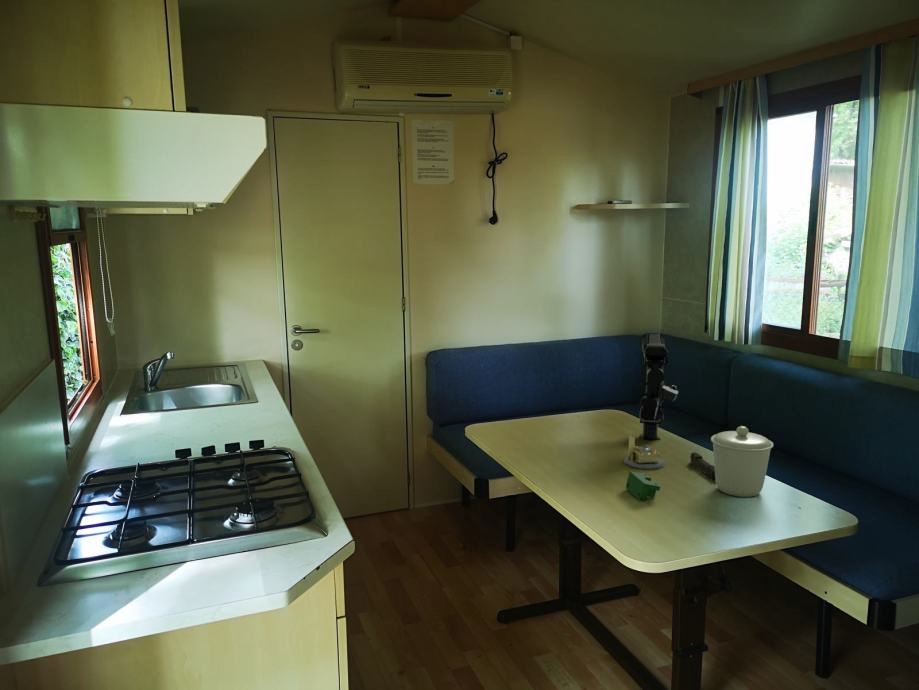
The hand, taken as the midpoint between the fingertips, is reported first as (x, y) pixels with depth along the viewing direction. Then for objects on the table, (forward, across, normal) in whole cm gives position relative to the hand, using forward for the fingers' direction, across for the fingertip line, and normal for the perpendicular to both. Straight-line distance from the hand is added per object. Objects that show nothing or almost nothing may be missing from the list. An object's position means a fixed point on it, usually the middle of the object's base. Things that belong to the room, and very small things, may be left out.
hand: (652, 420), depth 259 cm
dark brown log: (+12, -15, -20) cm, 28 cm away
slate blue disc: (+12, -15, -1) cm, 19 cm away
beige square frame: (+11, -16, 0) cm, 19 cm away
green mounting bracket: (+12, -46, -7) cm, 48 cm away
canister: (+12, -29, -33) cm, 46 cm away
